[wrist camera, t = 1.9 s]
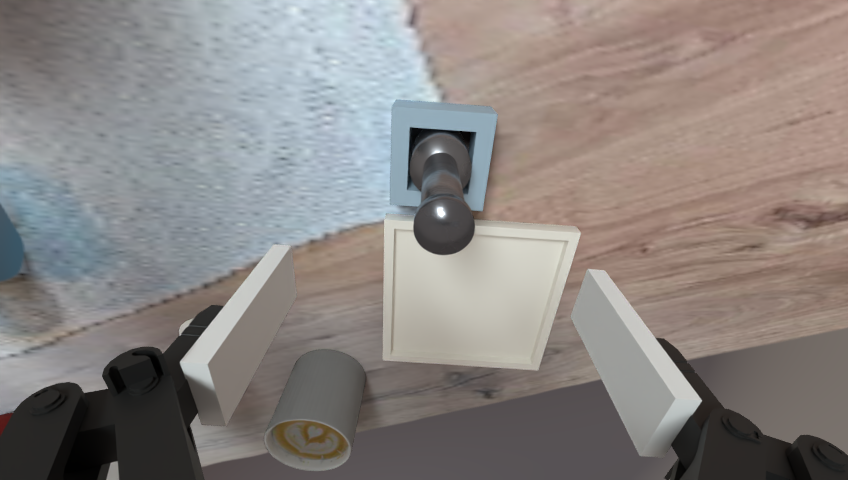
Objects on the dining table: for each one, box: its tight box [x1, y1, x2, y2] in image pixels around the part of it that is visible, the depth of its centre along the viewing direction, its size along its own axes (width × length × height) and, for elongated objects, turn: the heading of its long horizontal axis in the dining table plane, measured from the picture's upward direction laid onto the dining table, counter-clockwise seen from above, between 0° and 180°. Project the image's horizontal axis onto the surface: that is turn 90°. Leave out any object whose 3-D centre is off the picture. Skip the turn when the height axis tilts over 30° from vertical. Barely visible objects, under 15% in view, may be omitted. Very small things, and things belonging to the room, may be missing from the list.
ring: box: [390, 100, 498, 211], centre depth 33 cm, size 8×8×4 cm
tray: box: [383, 213, 581, 370], centre depth 42 cm, size 20×20×2 cm
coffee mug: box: [264, 350, 366, 471], centre depth 46 cm, size 13×10×10 cm
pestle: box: [410, 128, 475, 255], centre depth 27 cm, size 5×5×16 cm
